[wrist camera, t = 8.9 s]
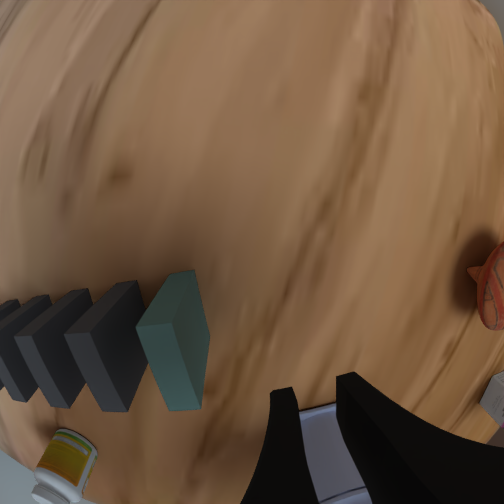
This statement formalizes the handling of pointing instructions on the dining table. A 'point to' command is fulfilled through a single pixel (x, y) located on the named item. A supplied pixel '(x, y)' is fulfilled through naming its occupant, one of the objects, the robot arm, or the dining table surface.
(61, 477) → the supplement bottle
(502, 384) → the ink cartridge box
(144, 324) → the loose domino
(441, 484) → the robot arm
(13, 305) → the domino
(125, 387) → the domino
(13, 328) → the domino
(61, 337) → the domino
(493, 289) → the pot
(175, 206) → the dining table surface
